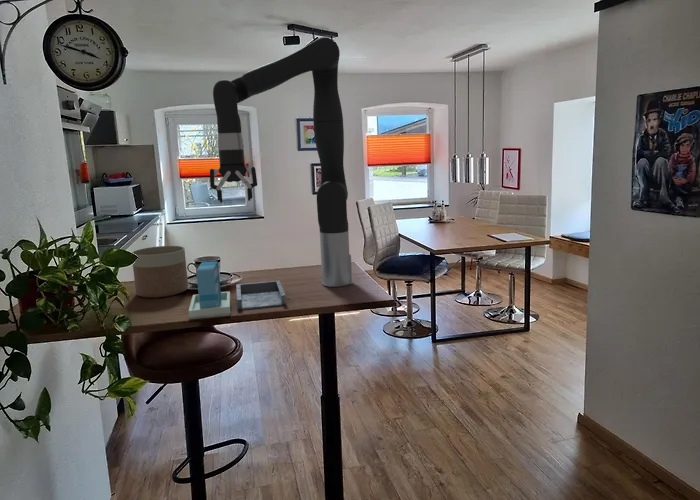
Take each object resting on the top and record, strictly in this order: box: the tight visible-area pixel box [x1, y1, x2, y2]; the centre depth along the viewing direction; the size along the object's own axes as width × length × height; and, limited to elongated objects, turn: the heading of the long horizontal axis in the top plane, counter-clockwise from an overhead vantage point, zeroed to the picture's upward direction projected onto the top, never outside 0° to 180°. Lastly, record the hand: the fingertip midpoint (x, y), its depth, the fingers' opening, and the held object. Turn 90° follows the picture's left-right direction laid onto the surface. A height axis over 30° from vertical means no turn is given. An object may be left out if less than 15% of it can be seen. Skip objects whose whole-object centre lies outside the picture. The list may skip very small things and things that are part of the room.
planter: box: [131, 245, 189, 299], centre depth 167 cm, size 16×16×14 cm
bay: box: [235, 279, 287, 311], centre depth 155 cm, size 13×18×3 cm
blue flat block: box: [196, 260, 222, 309], centre depth 147 cm, size 12×4×12 cm, turn 8°
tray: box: [188, 290, 231, 320], centre depth 148 cm, size 11×17×2 cm, turn 13°
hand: (235, 201), depth 164 cm, fingers open, 8 cm apart
